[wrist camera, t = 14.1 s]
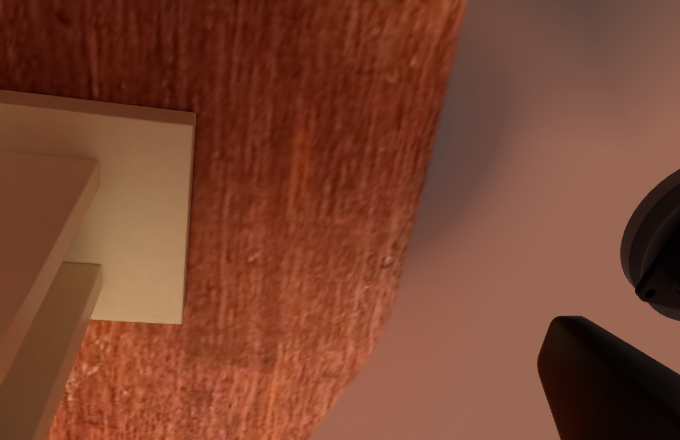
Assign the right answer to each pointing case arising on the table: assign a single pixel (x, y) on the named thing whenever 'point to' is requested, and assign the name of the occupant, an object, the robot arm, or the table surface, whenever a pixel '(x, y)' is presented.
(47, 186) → the bracket
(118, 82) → the table surface
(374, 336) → the table surface
